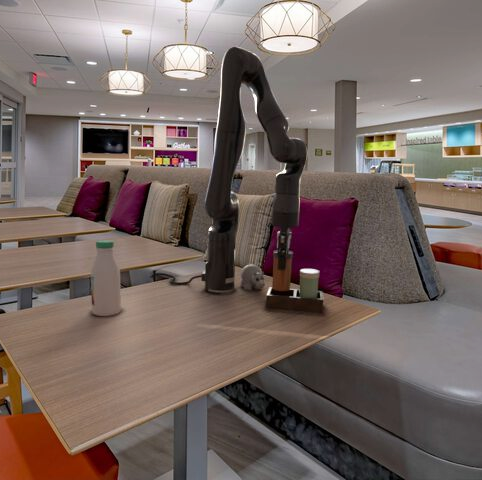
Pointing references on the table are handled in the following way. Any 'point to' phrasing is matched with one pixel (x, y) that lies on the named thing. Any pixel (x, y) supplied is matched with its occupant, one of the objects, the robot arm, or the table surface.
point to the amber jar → (282, 273)
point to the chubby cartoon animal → (252, 277)
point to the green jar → (309, 283)
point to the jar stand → (293, 301)
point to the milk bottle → (105, 281)
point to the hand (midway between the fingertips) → (282, 266)
